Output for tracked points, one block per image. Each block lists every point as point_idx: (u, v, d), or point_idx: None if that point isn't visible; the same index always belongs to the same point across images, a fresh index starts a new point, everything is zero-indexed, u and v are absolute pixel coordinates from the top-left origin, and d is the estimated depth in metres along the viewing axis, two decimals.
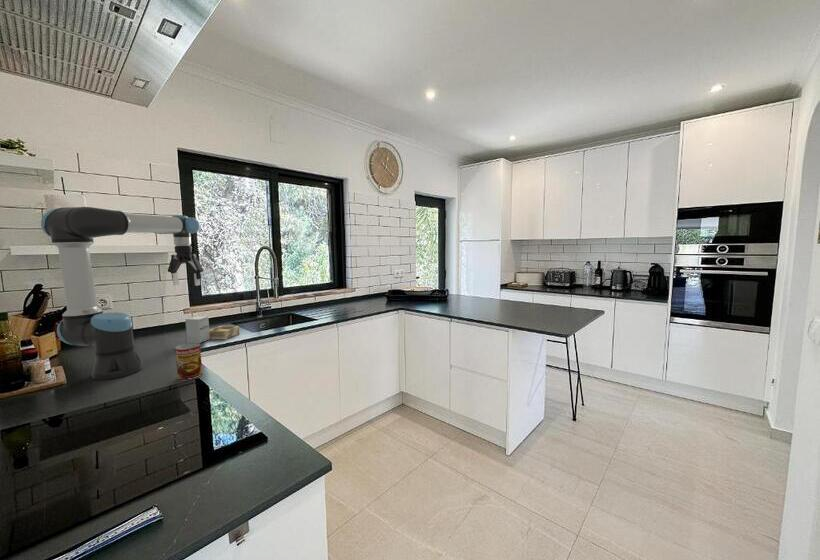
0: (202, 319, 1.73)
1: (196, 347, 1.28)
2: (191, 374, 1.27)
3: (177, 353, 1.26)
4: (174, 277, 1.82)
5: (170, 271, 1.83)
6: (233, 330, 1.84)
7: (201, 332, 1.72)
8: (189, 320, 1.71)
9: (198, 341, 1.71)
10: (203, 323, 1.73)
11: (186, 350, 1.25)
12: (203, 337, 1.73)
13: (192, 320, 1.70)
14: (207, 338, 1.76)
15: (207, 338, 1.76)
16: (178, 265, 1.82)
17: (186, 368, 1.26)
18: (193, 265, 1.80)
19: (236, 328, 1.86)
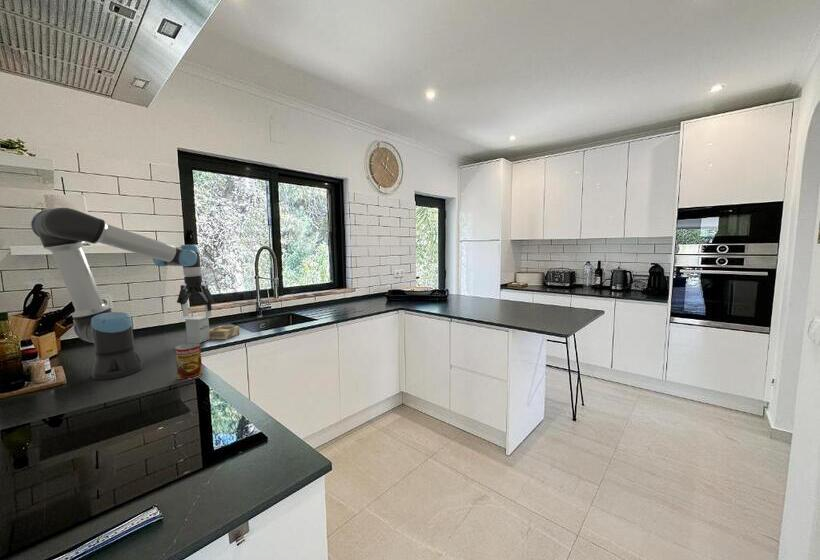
0: (202, 319, 1.73)
1: (196, 347, 1.28)
2: (191, 374, 1.27)
3: (177, 353, 1.26)
4: (184, 308, 1.74)
5: None
6: (233, 330, 1.84)
7: (201, 332, 1.72)
8: (189, 320, 1.71)
9: (198, 341, 1.71)
10: (203, 323, 1.73)
11: (186, 350, 1.25)
12: (203, 337, 1.73)
13: (192, 320, 1.70)
14: (207, 338, 1.76)
15: (207, 338, 1.76)
16: (188, 296, 1.73)
17: (186, 368, 1.26)
18: (204, 296, 1.71)
19: (236, 328, 1.86)
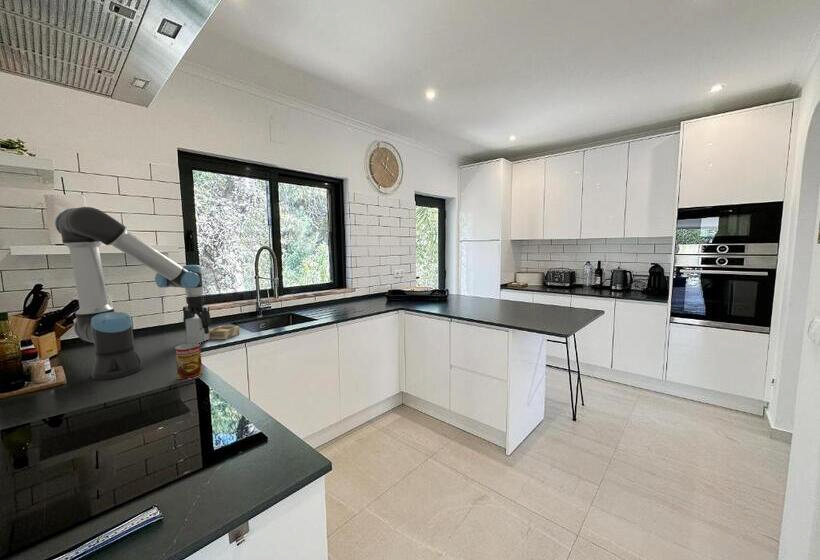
0: None
1: (196, 347, 1.28)
2: (191, 374, 1.27)
3: (177, 353, 1.26)
4: None
5: None
6: (233, 330, 1.84)
7: (201, 332, 1.72)
8: (189, 320, 1.71)
9: (198, 341, 1.71)
10: None
11: (186, 350, 1.25)
12: None
13: (192, 320, 1.70)
14: None
15: None
16: (192, 317, 1.74)
17: (186, 368, 1.26)
18: (203, 318, 1.73)
19: (236, 328, 1.86)
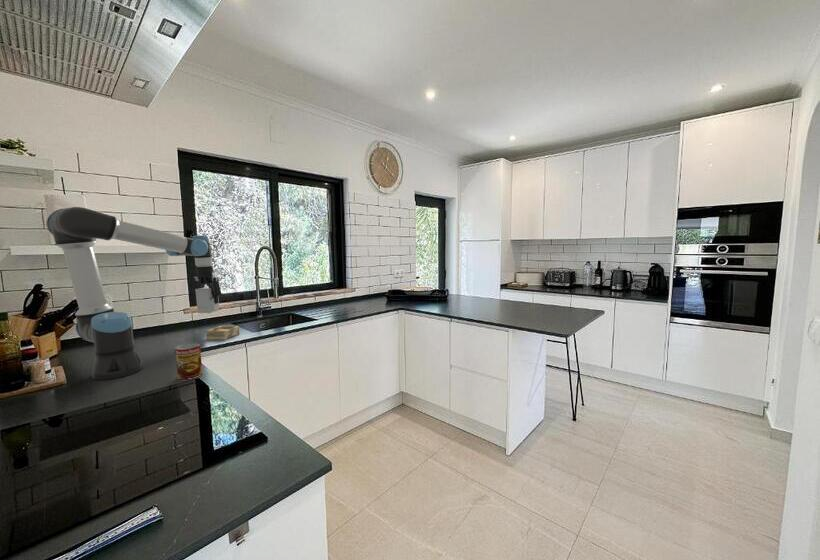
0: None
1: (196, 347, 1.28)
2: (191, 374, 1.27)
3: (177, 353, 1.26)
4: None
5: None
6: (233, 330, 1.84)
7: (211, 302, 1.75)
8: (199, 290, 1.73)
9: (208, 310, 1.74)
10: None
11: (186, 350, 1.25)
12: None
13: (202, 290, 1.73)
14: None
15: None
16: (202, 287, 1.77)
17: (186, 368, 1.26)
18: (213, 288, 1.75)
19: (236, 328, 1.86)
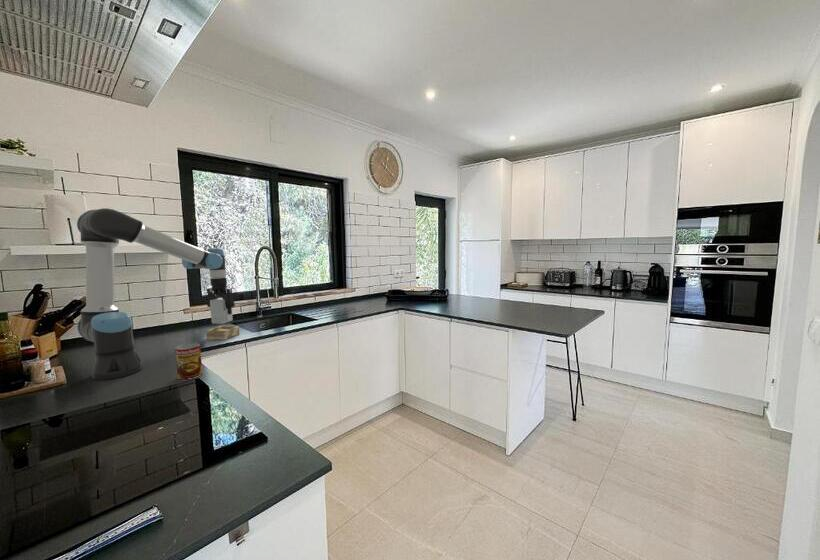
0: None
1: (196, 347, 1.28)
2: (191, 374, 1.27)
3: (177, 353, 1.26)
4: None
5: None
6: (233, 330, 1.84)
7: (225, 313, 1.80)
8: (213, 301, 1.78)
9: (222, 321, 1.79)
10: None
11: (186, 350, 1.26)
12: None
13: (216, 301, 1.78)
14: None
15: None
16: (216, 298, 1.82)
17: (186, 368, 1.26)
18: (226, 299, 1.80)
19: (236, 328, 1.86)
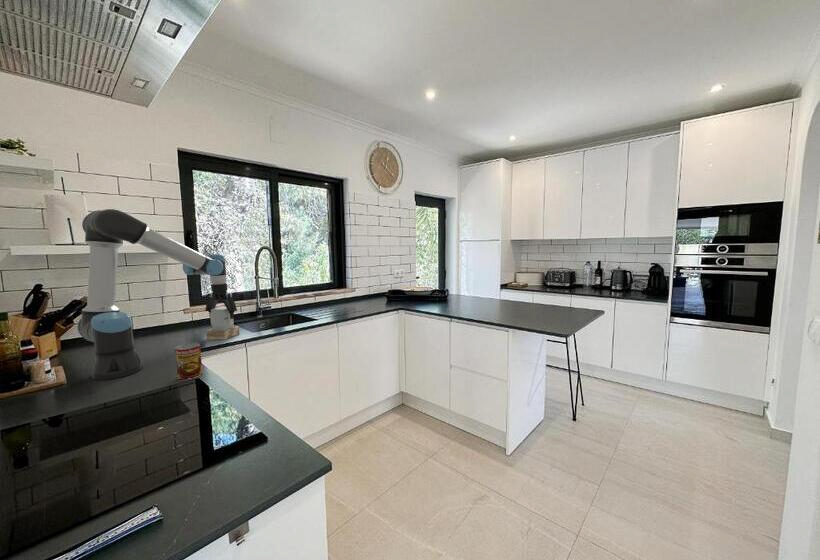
0: (226, 309, 1.81)
1: (196, 347, 1.28)
2: (191, 374, 1.27)
3: (177, 353, 1.26)
4: None
5: (208, 310, 1.83)
6: (233, 330, 1.84)
7: (226, 322, 1.80)
8: (214, 310, 1.79)
9: (223, 330, 1.79)
10: (227, 313, 1.81)
11: (186, 350, 1.25)
12: (227, 327, 1.81)
13: (217, 310, 1.79)
14: None
15: (231, 327, 1.84)
16: (215, 303, 1.82)
17: (186, 368, 1.26)
18: (228, 304, 1.80)
19: (236, 328, 1.86)
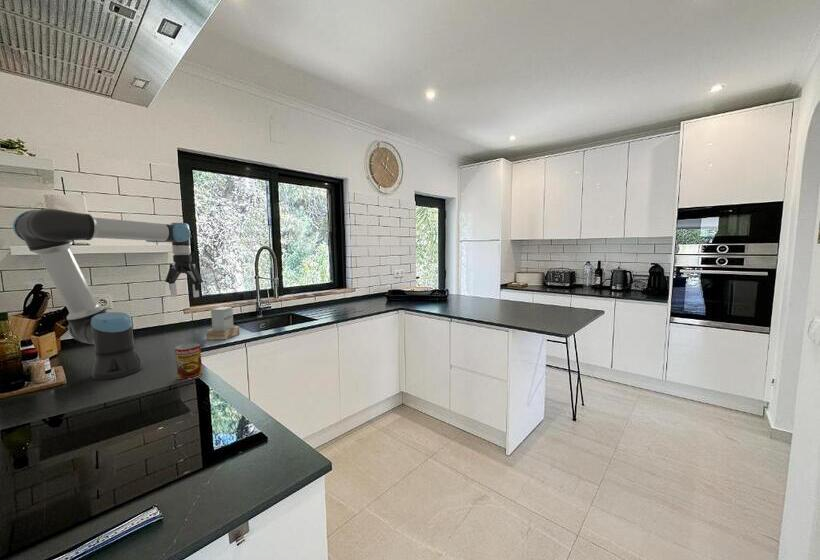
0: (226, 309, 1.81)
1: (196, 347, 1.28)
2: (191, 374, 1.27)
3: (177, 353, 1.26)
4: (172, 288, 1.72)
5: (168, 281, 1.72)
6: (233, 330, 1.84)
7: (226, 322, 1.80)
8: (214, 310, 1.79)
9: (223, 330, 1.79)
10: (227, 313, 1.81)
11: (186, 350, 1.25)
12: (227, 327, 1.81)
13: (217, 310, 1.79)
14: None
15: None
16: (176, 275, 1.72)
17: (186, 368, 1.26)
18: (192, 275, 1.69)
19: (236, 328, 1.86)
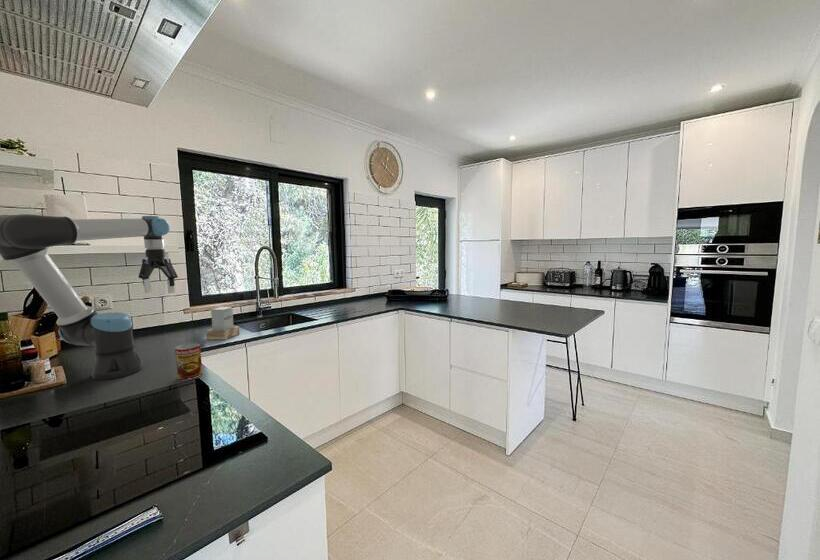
0: (226, 309, 1.81)
1: (196, 347, 1.28)
2: (191, 374, 1.27)
3: (177, 353, 1.26)
4: (146, 284, 1.66)
5: (141, 277, 1.66)
6: (233, 330, 1.84)
7: (226, 322, 1.80)
8: (214, 310, 1.79)
9: (223, 330, 1.79)
10: (227, 313, 1.81)
11: (186, 350, 1.25)
12: (227, 327, 1.81)
13: (217, 310, 1.79)
14: None
15: None
16: (150, 270, 1.65)
17: (186, 368, 1.26)
18: (166, 271, 1.63)
19: (236, 328, 1.86)
